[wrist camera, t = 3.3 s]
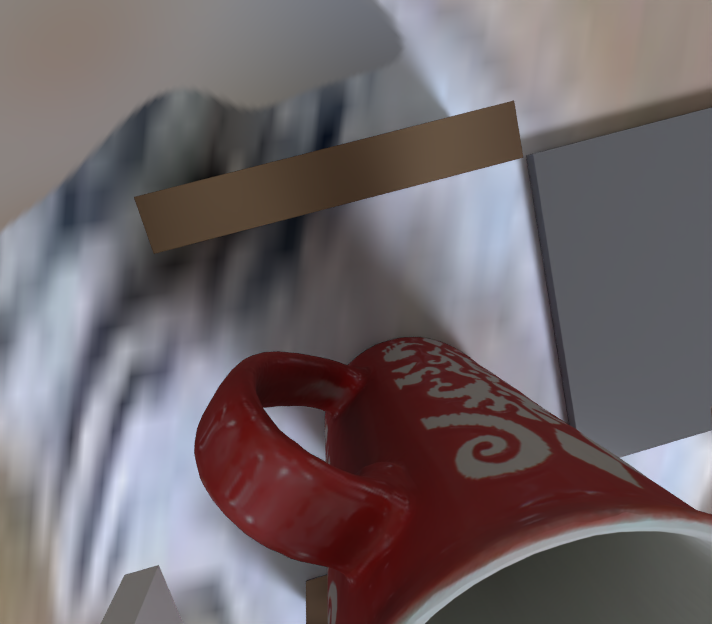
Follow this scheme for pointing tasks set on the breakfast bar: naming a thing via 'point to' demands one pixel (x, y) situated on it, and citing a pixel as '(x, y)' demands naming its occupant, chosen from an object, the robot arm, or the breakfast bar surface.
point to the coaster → (631, 279)
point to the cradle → (329, 195)
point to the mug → (448, 496)
